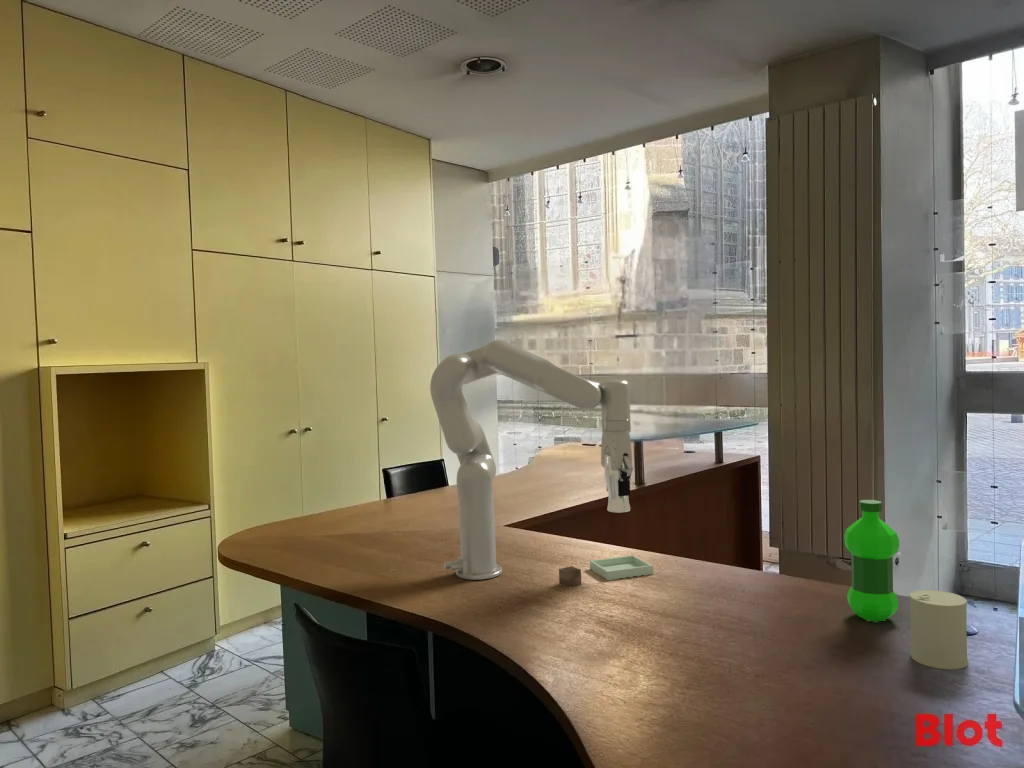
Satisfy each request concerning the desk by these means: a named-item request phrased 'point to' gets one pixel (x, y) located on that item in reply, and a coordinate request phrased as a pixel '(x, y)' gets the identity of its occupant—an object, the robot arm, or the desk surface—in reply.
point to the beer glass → (615, 489)
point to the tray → (621, 567)
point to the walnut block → (570, 576)
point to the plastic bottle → (872, 564)
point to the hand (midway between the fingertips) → (618, 492)
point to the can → (938, 629)
